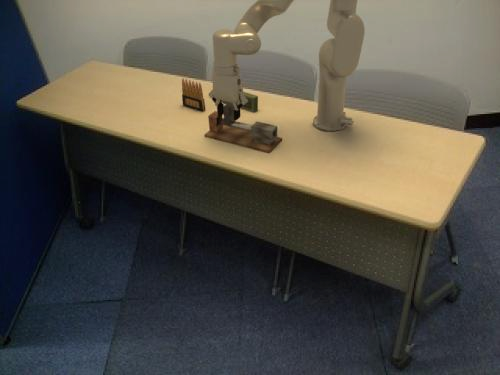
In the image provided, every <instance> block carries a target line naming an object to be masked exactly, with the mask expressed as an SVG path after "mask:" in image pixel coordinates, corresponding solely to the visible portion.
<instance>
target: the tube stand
mask: <svg viewBox="0 0 500 375" xmlns="http://www.w3.org/2000/svg"><path fill="white" fill-rule="evenodd" d="M217 118H218V113H217V110H214V111H213V112H212V113H210V114H209V115H208V126H209V130H208V131H207V132H205V133H204V137H205V138H208V139H212V140H216V141H219V142H223V143H228V144H231V145H234V146H239V147H244V148H247V149H252V150H254V151H259V152H262V153H267V154H271V152H272V151H274V150H275V148H277V146H278V145H279V144H281V142H282V141H283V137H280V136H278V125H274V124H271V123H267V122H261V121H255V122H254V123H253V124H251V125H252V126H251V130H252V132H250V131H246V130H242V129H238V128H233V127H229V126H225V125H221V124H217ZM220 118H223V115H222V116H220Z"/></svg>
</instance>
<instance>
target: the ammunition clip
mask: <svg viewBox="0 0 500 375" xmlns="http://www.w3.org/2000/svg"><path fill="white" fill-rule="evenodd" d="M181 92H182V95H181V97H182V98H181V99H182V107H186V108H188V109H191V110H194V111H197V112H201V113H203V112H205V111H206V104H205V98H204V93H203V88H202V83H201V82H199V83H198V82H197V81H194V80H192V82H191V80H190V79H187V78H185V79H184V78H183V77H182V78H181Z"/></svg>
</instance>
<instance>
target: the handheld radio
mask: <svg viewBox="0 0 500 375" xmlns="http://www.w3.org/2000/svg"><path fill="white" fill-rule="evenodd" d="M243 95H244V96H245V97H246V99H247V100H248V102H247V103H246V104H244V105H243V106H242V107H241V108H240V109H241V110H242V109H243V110H244V111H245V110H246V111H248V112H252V113H256V112H258V111H259V96H258V95H256V94H252V93H249V92H246V91H243ZM239 100H240V103H241V102H242V100H241V99H239ZM222 103H223V104H227V103H232V102H227V101H222ZM232 104H233V103H232ZM237 106H238V105H237Z"/></svg>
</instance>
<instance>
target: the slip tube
mask: <svg viewBox="0 0 500 375" xmlns="http://www.w3.org/2000/svg"><path fill="white" fill-rule="evenodd" d="M234 110H235V108H234V106H233V104H232V103H225V105H224V107H223V112H224V114H223V117H222V118H220V117H218V118H217V124H221V125H225V126H229V127H233V128H238V129H242V130H246V131H250V132H252V130H251V126H252V125H253V124H250V123H247V122H246V123H245V122H242V121H238V120H236V121H235V120H234Z"/></svg>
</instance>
